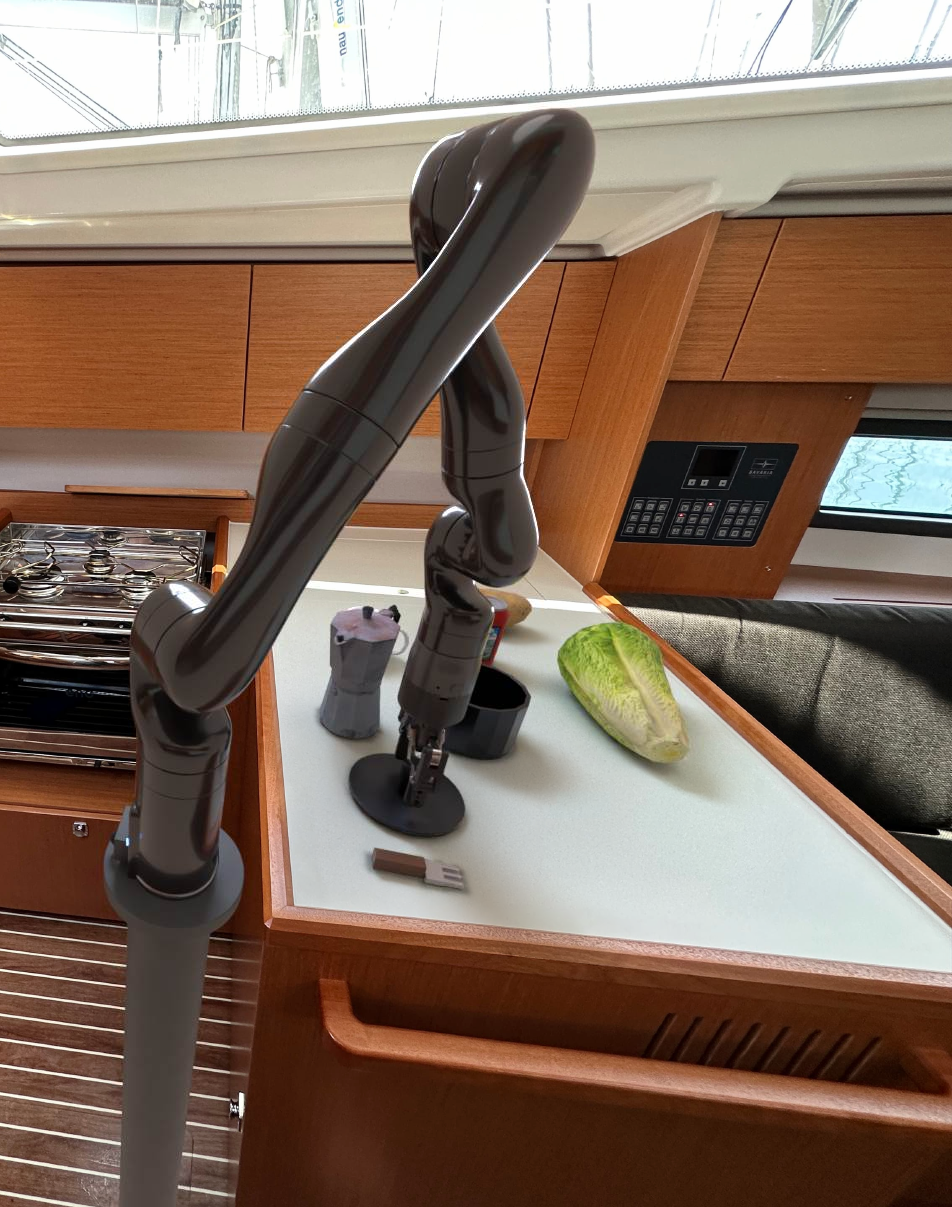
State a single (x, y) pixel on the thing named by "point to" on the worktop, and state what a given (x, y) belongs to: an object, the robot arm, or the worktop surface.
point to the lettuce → (625, 689)
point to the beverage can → (495, 630)
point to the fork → (417, 867)
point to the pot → (489, 717)
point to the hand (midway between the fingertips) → (407, 780)
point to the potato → (511, 605)
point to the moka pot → (358, 669)
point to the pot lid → (383, 790)
